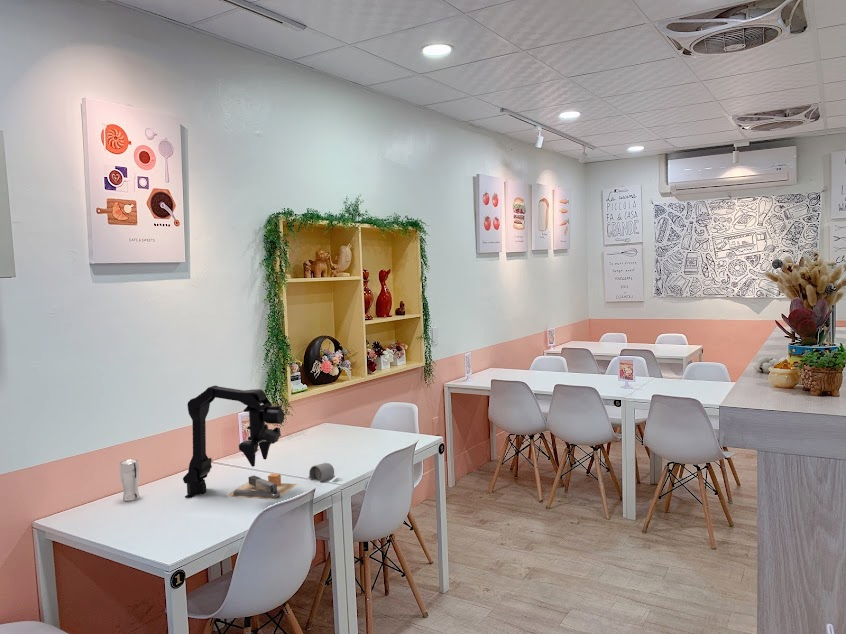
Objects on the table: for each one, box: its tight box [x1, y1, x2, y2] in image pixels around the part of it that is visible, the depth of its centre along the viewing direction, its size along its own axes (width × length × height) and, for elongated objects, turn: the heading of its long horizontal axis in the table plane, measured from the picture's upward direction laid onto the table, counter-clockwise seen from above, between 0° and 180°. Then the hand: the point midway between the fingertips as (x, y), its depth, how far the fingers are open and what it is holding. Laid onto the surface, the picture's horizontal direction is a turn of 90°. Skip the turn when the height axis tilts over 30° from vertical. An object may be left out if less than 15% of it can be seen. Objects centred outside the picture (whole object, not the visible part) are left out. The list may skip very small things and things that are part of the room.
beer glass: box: [119, 458, 140, 503], centre depth 256 cm, size 7×7×15 cm
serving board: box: [226, 481, 298, 501], centre depth 259 cm, size 22×18×1 cm
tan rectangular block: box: [267, 473, 282, 486], centre depth 265 cm, size 4×3×4 cm
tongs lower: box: [232, 484, 281, 500], centre depth 252 cm, size 19×4×5 cm, turn 75°
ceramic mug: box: [308, 462, 335, 483], centre depth 272 cm, size 11×8×8 cm
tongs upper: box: [248, 475, 274, 492], centre depth 257 cm, size 16×3×3 cm, turn 45°
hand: (259, 462), depth 250 cm, fingers open, 9 cm apart
